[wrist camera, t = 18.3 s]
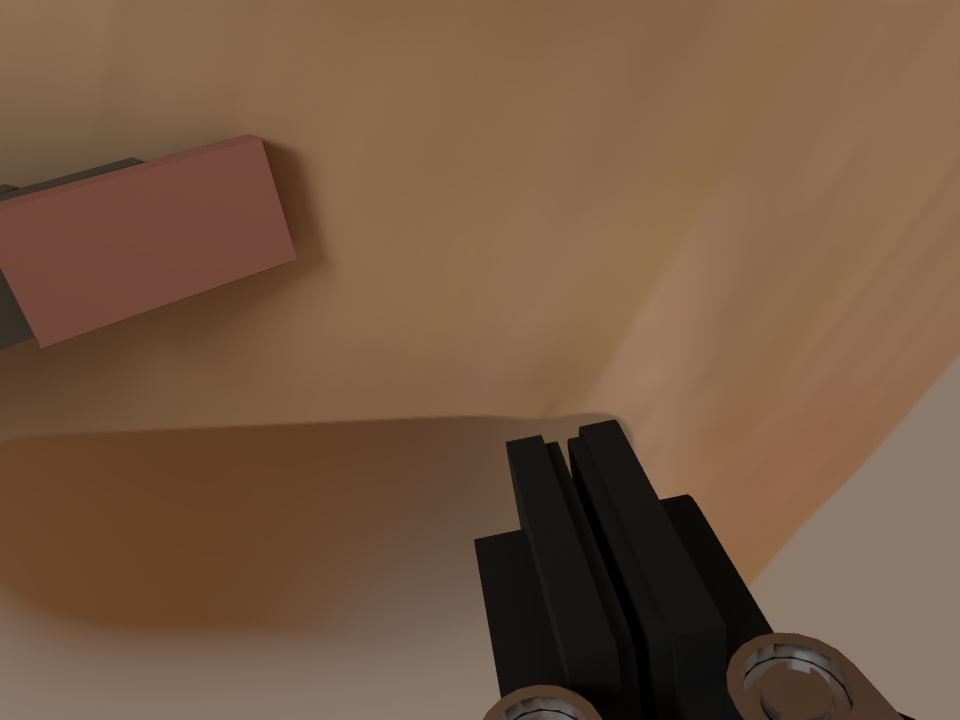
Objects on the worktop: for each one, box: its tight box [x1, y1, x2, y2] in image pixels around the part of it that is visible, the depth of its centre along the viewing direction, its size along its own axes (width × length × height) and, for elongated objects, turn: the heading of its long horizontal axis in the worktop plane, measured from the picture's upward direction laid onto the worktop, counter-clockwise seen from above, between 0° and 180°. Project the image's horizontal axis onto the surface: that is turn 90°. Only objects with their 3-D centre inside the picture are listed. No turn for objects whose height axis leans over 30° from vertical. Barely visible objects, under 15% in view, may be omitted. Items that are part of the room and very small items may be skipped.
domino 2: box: [0, 135, 297, 348], centre depth 29 cm, size 2×5×10 cm
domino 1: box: [0, 158, 142, 349], centre depth 28 cm, size 2×5×10 cm
